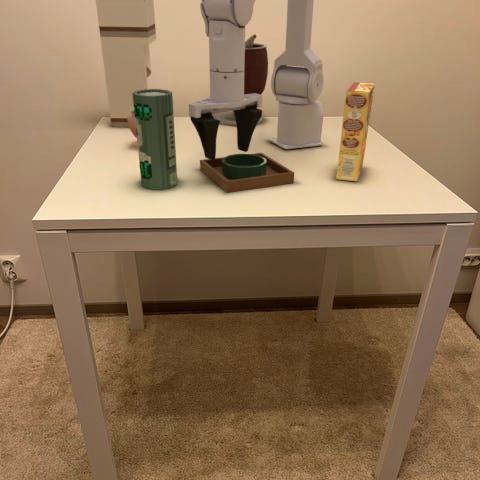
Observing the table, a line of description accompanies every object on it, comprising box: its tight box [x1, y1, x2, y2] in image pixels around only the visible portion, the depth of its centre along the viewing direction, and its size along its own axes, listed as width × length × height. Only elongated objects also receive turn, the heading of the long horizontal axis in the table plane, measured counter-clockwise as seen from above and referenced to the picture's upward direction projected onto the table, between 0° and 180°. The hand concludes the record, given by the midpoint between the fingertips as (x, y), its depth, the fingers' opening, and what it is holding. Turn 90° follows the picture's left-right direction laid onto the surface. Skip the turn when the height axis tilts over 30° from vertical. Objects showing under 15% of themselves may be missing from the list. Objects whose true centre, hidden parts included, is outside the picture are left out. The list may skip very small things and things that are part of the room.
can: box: [132, 88, 178, 191], centre depth 84 cm, size 6×6×15 cm
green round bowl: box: [222, 153, 267, 180], centre depth 91 cm, size 8×8×2 cm
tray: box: [199, 152, 295, 193], centre depth 92 cm, size 13×13×2 cm
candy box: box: [335, 81, 376, 182], centre depth 90 cm, size 9×4×15 cm, turn 162°
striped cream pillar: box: [95, 0, 157, 128], centre depth 115 cm, size 11×11×35 cm
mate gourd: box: [215, 34, 269, 127], centre depth 122 cm, size 16×14×20 cm
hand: (226, 154), depth 88 cm, fingers open, 7 cm apart
